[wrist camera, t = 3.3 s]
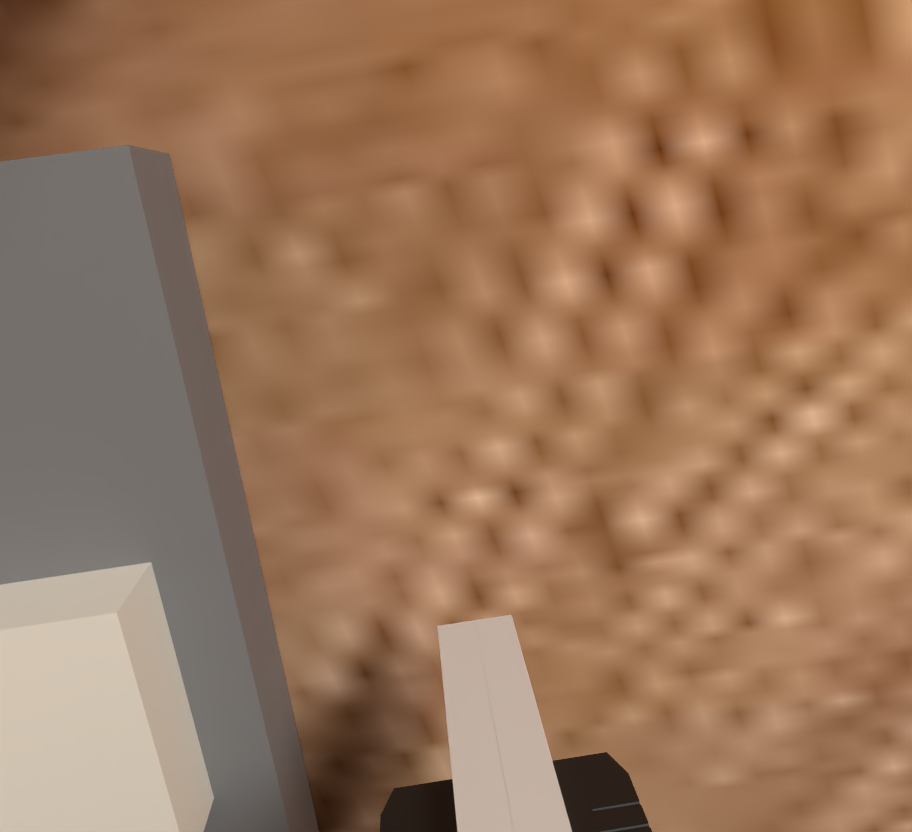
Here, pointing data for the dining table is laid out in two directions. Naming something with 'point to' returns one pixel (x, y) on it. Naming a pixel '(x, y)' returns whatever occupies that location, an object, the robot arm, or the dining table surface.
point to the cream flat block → (95, 709)
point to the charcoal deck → (138, 451)
